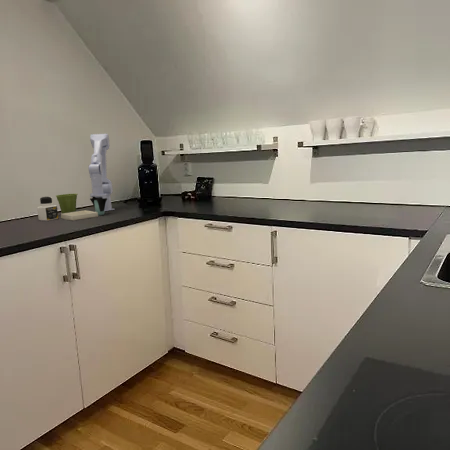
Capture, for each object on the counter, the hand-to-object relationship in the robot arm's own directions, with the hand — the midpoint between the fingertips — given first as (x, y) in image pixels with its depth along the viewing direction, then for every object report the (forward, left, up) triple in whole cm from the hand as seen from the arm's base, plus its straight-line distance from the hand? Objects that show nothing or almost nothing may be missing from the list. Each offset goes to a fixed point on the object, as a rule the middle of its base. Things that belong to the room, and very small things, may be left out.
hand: (99, 210), depth 244 cm
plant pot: (-17, -10, -2) cm, 20 cm away
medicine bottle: (-11, -24, -2) cm, 27 cm away
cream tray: (0, -12, -2) cm, 12 cm away
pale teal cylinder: (0, 0, -2) cm, 2 cm away
